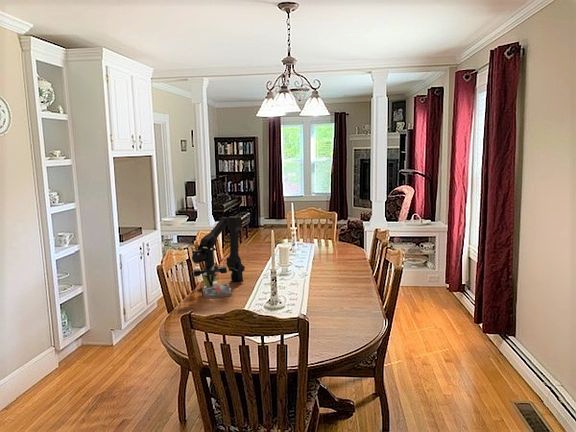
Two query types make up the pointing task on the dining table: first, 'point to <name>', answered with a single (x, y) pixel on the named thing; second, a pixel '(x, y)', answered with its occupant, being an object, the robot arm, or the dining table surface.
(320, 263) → the dining table surface
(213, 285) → the fader white
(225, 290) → the mixing board
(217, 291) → the fader red
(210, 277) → the plant pot
